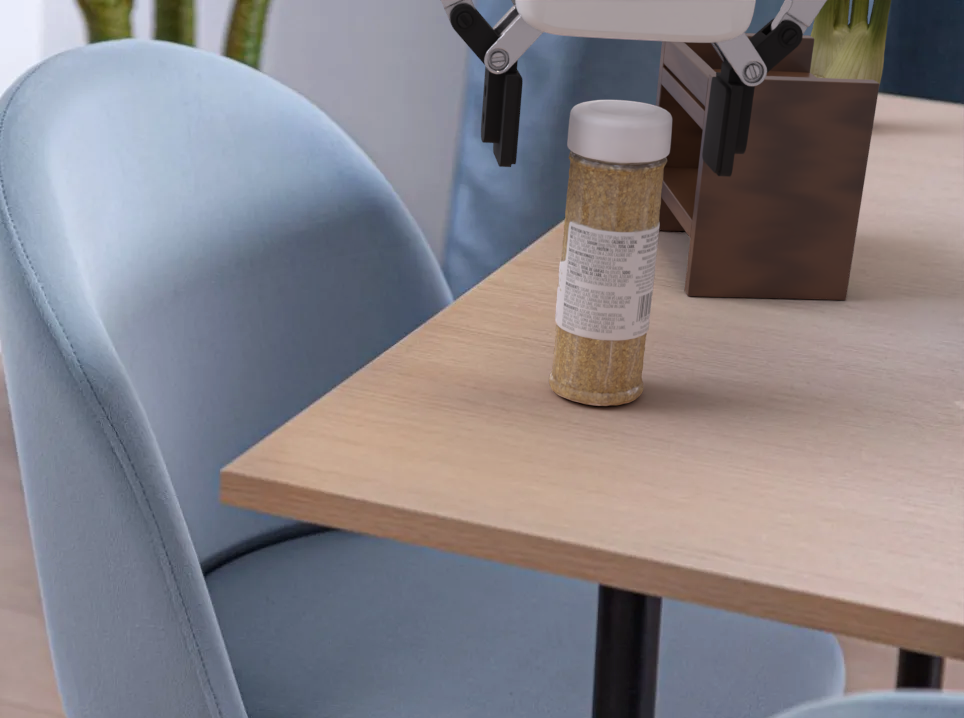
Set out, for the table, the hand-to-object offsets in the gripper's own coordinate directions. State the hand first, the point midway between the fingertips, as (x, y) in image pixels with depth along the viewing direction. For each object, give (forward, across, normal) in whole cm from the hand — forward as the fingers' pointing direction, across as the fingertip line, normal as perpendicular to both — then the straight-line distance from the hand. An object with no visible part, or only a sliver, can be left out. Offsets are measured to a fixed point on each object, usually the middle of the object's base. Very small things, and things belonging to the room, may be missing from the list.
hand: (610, 164), depth 79 cm
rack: (+11, +12, +22) cm, 28 cm away
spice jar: (+11, 0, 0) cm, 11 cm away
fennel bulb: (+10, +28, +59) cm, 66 cm away
